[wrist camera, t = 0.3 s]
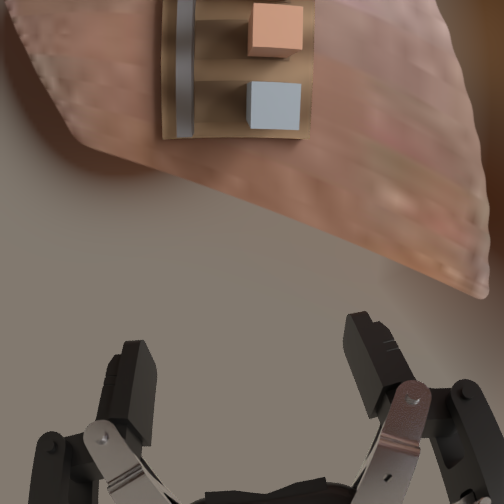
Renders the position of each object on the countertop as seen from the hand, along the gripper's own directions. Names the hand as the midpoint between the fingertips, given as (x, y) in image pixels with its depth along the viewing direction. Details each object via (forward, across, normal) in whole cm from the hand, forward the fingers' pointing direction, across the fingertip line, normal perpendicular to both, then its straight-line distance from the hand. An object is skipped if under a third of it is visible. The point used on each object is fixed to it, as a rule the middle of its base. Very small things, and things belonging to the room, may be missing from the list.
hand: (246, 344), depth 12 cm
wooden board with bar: (+29, -3, -13) cm, 32 cm away
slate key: (+26, -5, -6) cm, 27 cm away
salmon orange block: (+26, -6, -13) cm, 30 cm away
